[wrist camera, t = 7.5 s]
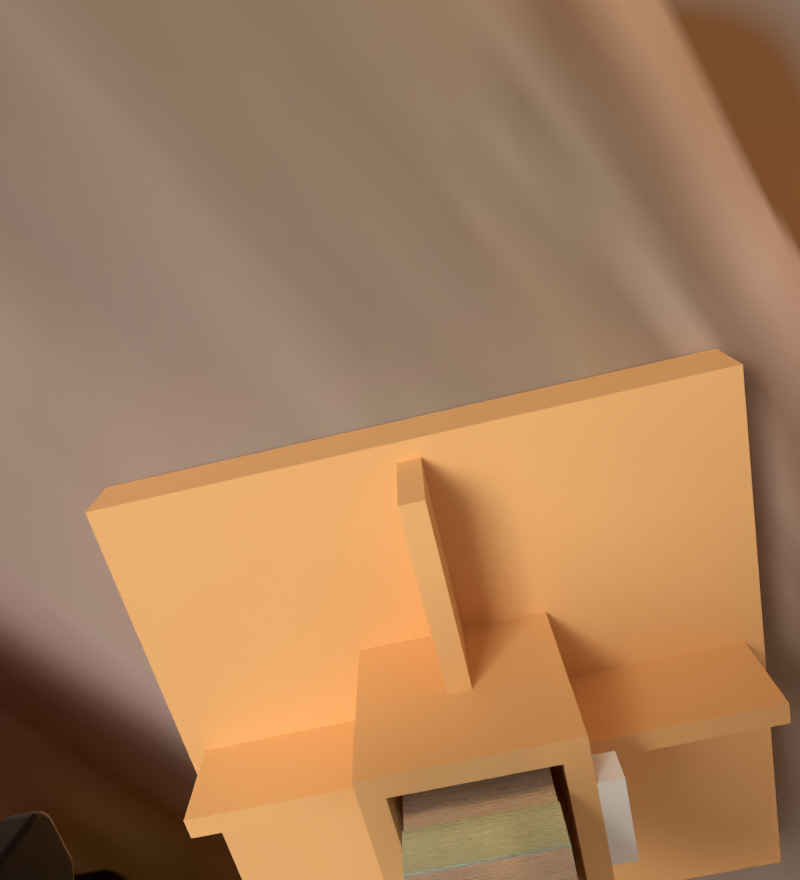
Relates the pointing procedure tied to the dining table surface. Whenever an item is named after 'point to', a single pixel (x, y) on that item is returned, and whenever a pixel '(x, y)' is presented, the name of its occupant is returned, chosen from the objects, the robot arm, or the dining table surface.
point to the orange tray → (470, 626)
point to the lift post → (487, 831)
